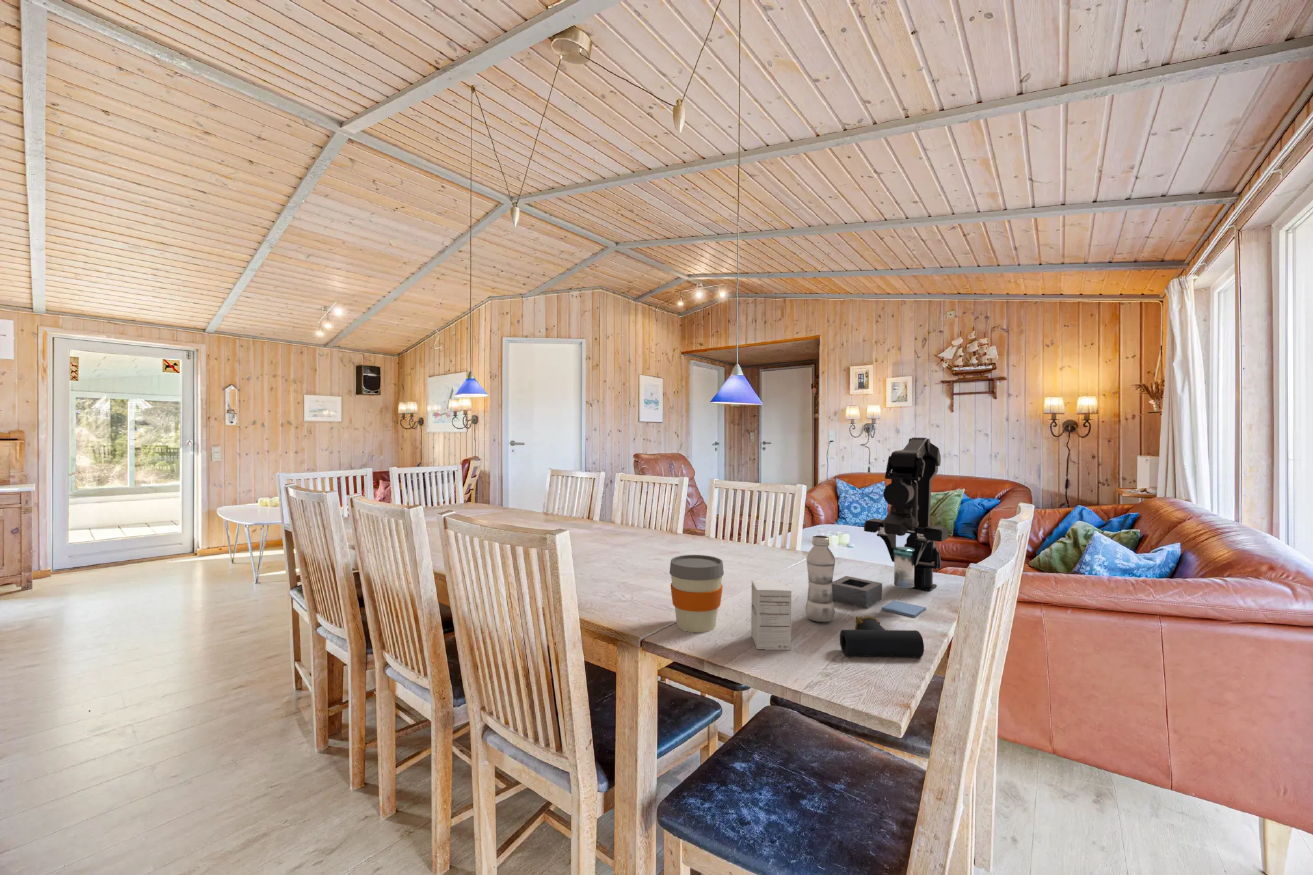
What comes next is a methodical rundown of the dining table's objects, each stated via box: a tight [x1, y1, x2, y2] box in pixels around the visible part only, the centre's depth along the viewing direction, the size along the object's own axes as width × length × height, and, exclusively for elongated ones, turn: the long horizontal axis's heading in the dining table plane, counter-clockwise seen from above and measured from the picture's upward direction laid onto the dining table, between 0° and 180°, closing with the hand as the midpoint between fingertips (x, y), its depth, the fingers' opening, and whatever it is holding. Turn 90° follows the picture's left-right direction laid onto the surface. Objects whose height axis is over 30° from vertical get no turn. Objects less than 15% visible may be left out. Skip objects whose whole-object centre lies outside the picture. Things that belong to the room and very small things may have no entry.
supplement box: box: [750, 579, 792, 651], centre depth 115 cm, size 7×7×13 cm
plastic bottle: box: [804, 534, 836, 623], centre depth 128 cm, size 6×7×20 cm
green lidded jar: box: [893, 546, 914, 589], centre depth 136 cm, size 5×5×9 cm
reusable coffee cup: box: [669, 554, 725, 633], centre depth 125 cm, size 12×13×15 cm
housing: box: [832, 575, 883, 610], centre depth 144 cm, size 10×10×4 cm
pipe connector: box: [839, 616, 925, 658], centre depth 113 cm, size 12×5×15 cm
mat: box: [881, 600, 927, 619], centre depth 136 cm, size 8×8×1 cm
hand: (904, 563), depth 136 cm, fingers closed on green lidded jar, 5 cm apart
